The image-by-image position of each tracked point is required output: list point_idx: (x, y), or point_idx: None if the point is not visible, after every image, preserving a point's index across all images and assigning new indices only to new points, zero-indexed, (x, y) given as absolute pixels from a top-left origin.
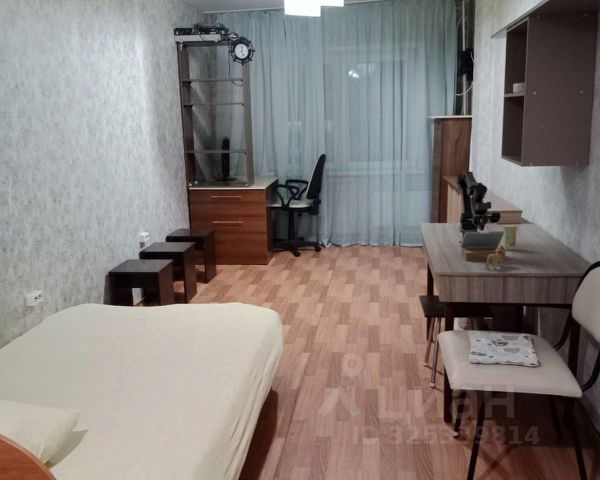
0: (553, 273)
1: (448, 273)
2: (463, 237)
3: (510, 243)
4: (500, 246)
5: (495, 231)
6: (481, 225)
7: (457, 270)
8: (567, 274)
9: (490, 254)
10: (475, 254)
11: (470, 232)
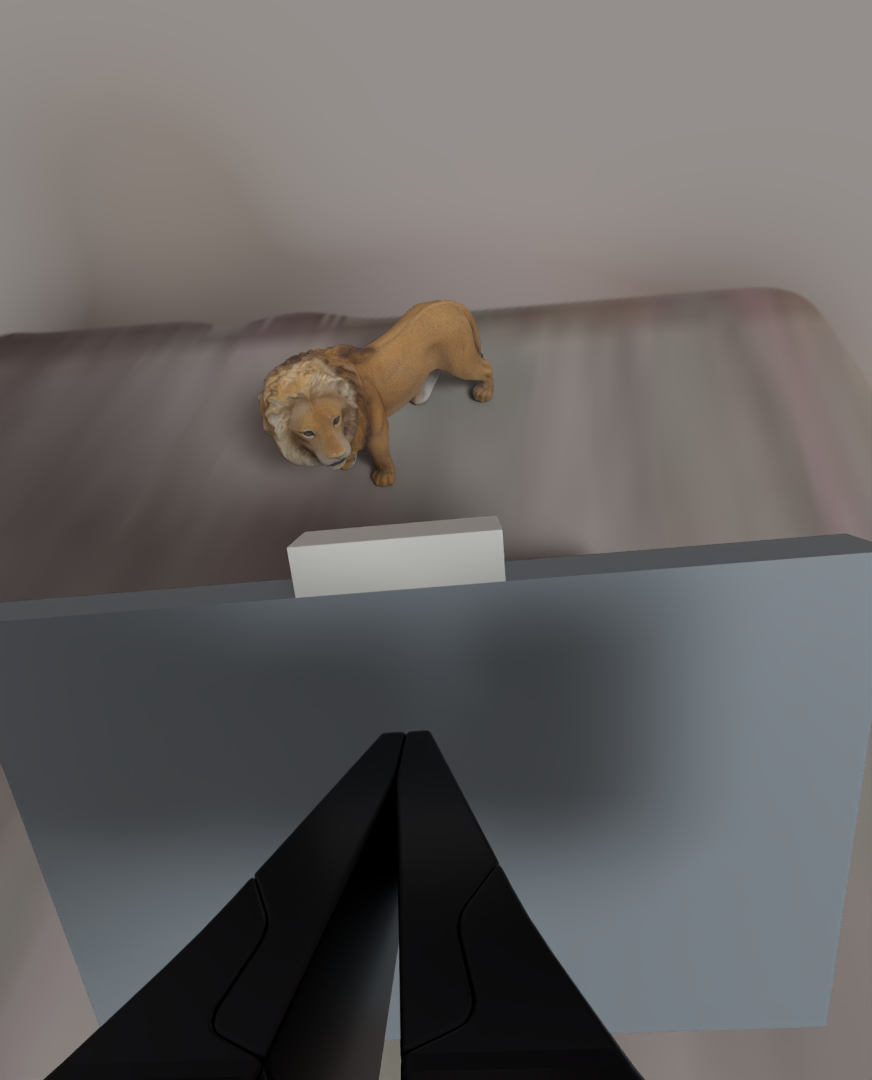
0: (95, 348)
1: (756, 293)
2: (853, 759)
3: None
4: (301, 361)
5: (131, 612)
6: (406, 852)
7: (700, 350)
8: (33, 339)
9: (446, 310)
10: None
11: (743, 556)
